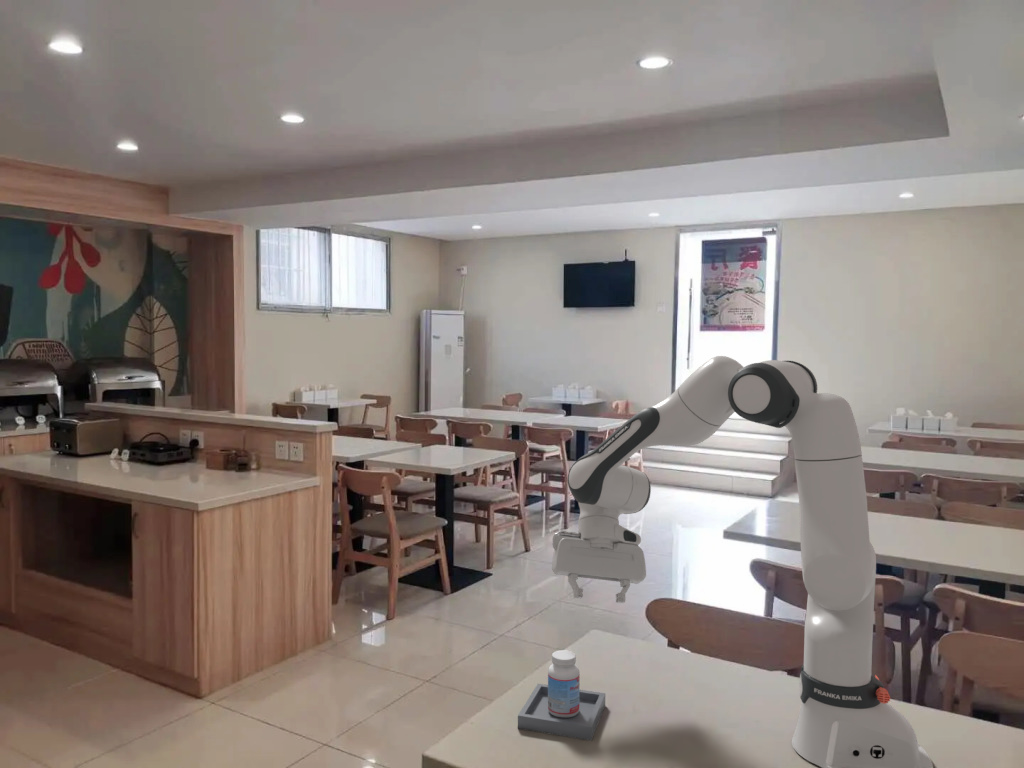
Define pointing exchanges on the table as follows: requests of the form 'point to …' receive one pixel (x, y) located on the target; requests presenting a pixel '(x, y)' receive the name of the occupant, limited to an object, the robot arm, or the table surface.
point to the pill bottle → (563, 685)
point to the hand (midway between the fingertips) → (599, 600)
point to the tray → (541, 720)
